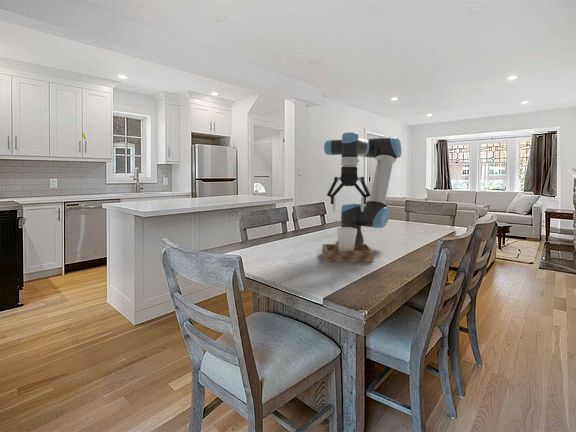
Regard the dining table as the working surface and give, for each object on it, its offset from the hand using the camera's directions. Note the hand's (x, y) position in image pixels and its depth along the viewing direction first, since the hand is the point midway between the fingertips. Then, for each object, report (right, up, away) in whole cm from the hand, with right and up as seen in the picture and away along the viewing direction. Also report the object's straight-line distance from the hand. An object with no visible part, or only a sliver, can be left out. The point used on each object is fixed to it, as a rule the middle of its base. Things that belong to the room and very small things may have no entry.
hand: (348, 211), depth 160 cm
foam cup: (0, -22, +3) cm, 22 cm away
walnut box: (0, -23, +3) cm, 23 cm away
